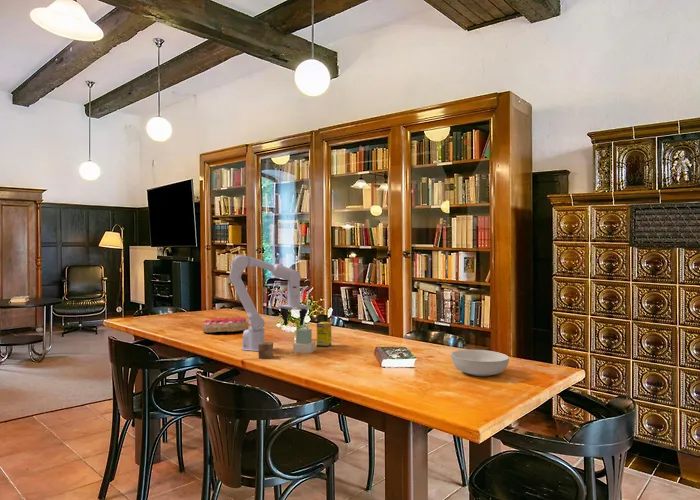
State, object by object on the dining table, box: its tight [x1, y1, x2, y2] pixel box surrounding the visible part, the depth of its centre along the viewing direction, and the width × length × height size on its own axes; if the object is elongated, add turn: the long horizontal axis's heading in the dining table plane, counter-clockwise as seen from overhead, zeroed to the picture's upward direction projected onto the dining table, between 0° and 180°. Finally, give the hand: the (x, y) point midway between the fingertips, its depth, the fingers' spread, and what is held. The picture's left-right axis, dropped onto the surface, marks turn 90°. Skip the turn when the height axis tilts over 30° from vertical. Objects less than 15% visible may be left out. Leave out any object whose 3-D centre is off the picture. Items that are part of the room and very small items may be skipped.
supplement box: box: [316, 321, 332, 348], centre depth 237 cm, size 6×6×11 cm
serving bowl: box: [450, 349, 510, 377], centre depth 186 cm, size 21×21×7 cm
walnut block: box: [258, 341, 274, 360], centre depth 213 cm, size 5×5×6 cm
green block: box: [295, 328, 313, 344], centre depth 225 cm, size 5×5×6 cm
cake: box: [202, 316, 249, 335], centre depth 279 cm, size 25×25×8 cm
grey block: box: [292, 340, 316, 354], centre depth 226 cm, size 8×8×4 cm
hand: (293, 325), depth 234 cm, fingers open, 7 cm apart
